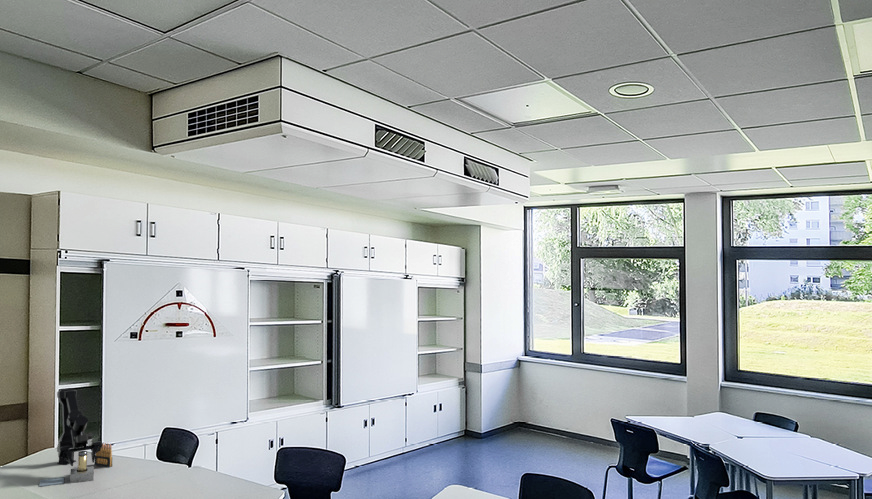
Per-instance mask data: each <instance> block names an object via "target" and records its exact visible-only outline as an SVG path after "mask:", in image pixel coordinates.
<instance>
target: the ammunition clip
mask: <svg viewBox="0 0 872 499" xmlns="http://www.w3.org/2000/svg"><path fill="white" fill-rule="evenodd" d="M112 455H113V452H112V444H111V443H110V444H109V443H106V442H105V443H104V442H102V448H101V450H100V451H99V452H98V453H96V454H95V459H94V466H98V467H103V468H104V467H105V468H111V467H113V456H112Z"/></svg>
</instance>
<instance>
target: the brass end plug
mask: <svg viewBox="0 0 872 499" xmlns="http://www.w3.org/2000/svg"><path fill="white" fill-rule="evenodd" d="M77 452H78V454H77V456H78V462H77V464H78V465H77V468H78V472H84V471H86V467H88V466H87V465H88V463H87V462H88V460H87V458H88V450H84V451H77Z"/></svg>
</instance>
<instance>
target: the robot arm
mask: <svg viewBox="0 0 872 499" xmlns="http://www.w3.org/2000/svg"><path fill="white" fill-rule="evenodd" d="M77 394H78V392H77V389H74V388H73V387H69V388H60V389H59V390H57V392H56V397H57V398H58V403H59V404H60V405H61V408H62V409H61V412H62V413H61V415H62V434H61V436H60V437H59V440H58V443H57V446H56V452H57V455H58V461H57V464H58V465H70V466H71V467H73V466H74V463H75V462H77V460H76V459H75V453H76V452H80V451H91V453H90V456H91V462H92V464H93V463H94V462H95V455H96V453H98V452H99V451H100V450H101V448H102V443H103V442H102V441H101V440H100V441H93V442H92V444H91V445H88V444H89V441H90V440H93V433H92V432H87V433H86V434H85V430H86V429H87V426H88V422H89V419H88V418H87V416H85V415H84V413H83V412H82V411H80V409H79V405H78V401H77V400H78V399H77Z"/></svg>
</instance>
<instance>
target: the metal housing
mask: <svg viewBox="0 0 872 499" xmlns="http://www.w3.org/2000/svg"><path fill="white" fill-rule="evenodd" d="M94 466H95V465H94ZM94 466H93V465H92V466H86V471H84V472H78V467H76V468H75V467H74V468H71V469H70V473H69V484H74V483H79V482H80V483H81V482H87V481H88V482H90V481H94V475H95V474H94V470H95V467H94Z"/></svg>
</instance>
